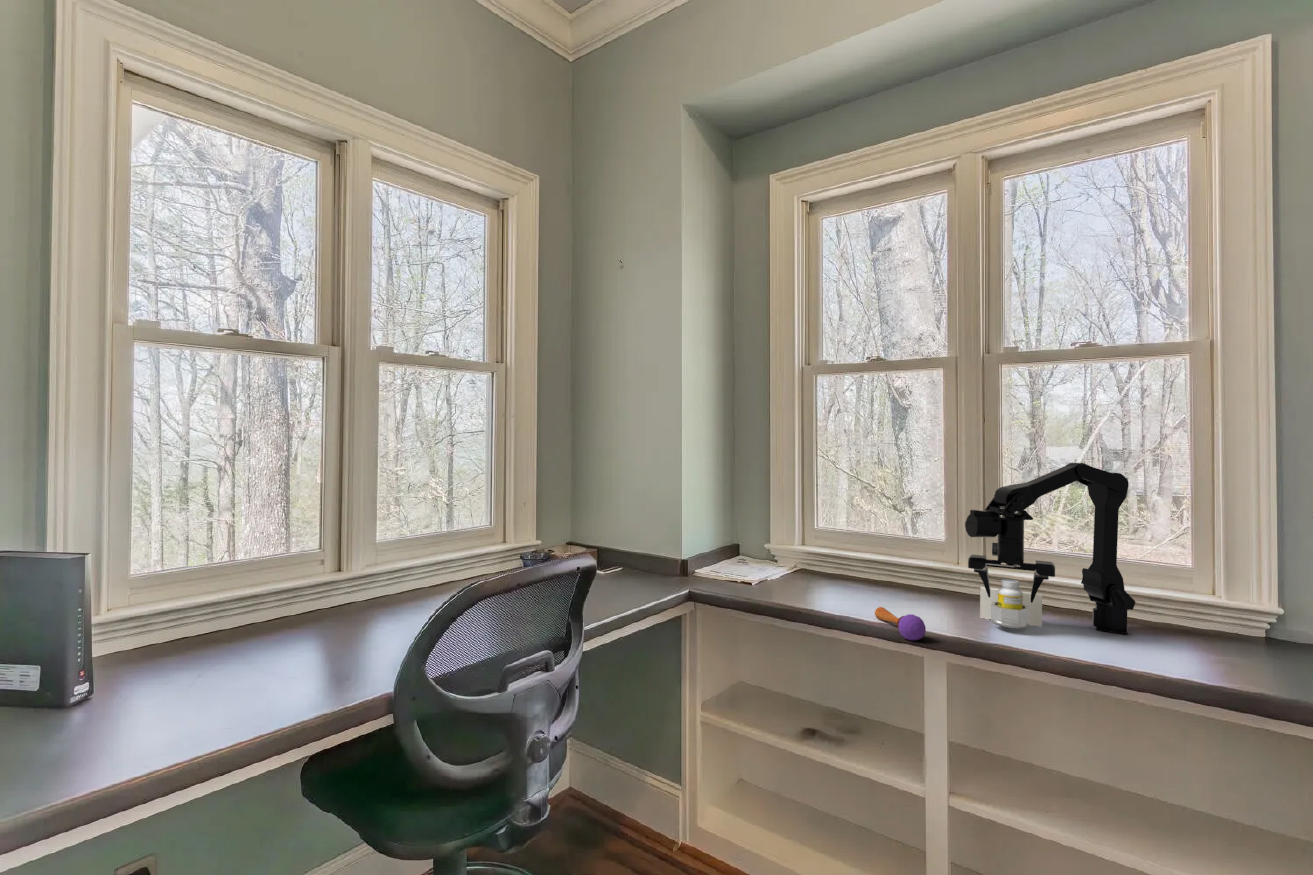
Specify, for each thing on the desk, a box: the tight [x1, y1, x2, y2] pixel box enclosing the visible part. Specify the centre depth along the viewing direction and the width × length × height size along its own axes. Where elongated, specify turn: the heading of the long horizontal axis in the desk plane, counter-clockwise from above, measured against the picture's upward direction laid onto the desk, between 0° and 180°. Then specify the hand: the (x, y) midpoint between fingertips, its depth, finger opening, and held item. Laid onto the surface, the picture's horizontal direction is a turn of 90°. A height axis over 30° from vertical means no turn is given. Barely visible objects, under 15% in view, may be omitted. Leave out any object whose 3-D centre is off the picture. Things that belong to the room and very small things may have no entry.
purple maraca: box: [874, 606, 927, 642], centre depth 154 cm, size 6×6×20 cm
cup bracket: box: [990, 601, 1030, 629], centre depth 157 cm, size 8×11×4 cm
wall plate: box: [979, 586, 1043, 627], centre depth 163 cm, size 14×2×8 cm, turn 60°
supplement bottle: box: [998, 578, 1023, 609], centre depth 156 cm, size 5×5×10 cm
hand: (1010, 599), depth 156 cm, fingers open, 9 cm apart
